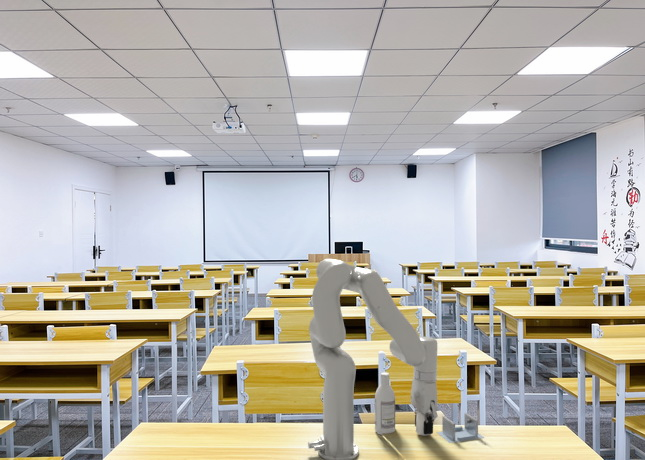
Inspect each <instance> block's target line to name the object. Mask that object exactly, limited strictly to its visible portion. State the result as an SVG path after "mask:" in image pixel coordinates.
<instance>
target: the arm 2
mask: <svg viewBox="0 0 645 460" xmlns="http://www.w3.org/2000/svg"><path fill="white" fill-rule="evenodd" d="M464 428H465V430H466V431H467V432H469V433H470V434H472V435H475V437H478V433H479V420H478V419H477V418H475V417H473V416H472V415H470V413H468V412H466V413H464Z"/></svg>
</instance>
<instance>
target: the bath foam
mask: <svg viewBox="0 0 645 460" xmlns="http://www.w3.org/2000/svg"><path fill="white" fill-rule="evenodd" d="M374 430H375V433H376V432H377V433H376V434H378V435H381V436H384V435H385V434H392V433H394V432H396V394H395V391H394V390H393V388H392V386H391V384H390V373H389V372H381V373H380V384H379V386H378V387H377V388H376V391H375V394H374Z"/></svg>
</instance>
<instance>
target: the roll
mask: <svg viewBox="0 0 645 460" xmlns="http://www.w3.org/2000/svg"><path fill="white" fill-rule="evenodd" d="M429 411H430V410H429ZM429 411H428V412H429ZM415 415H416V426H415V432H416V434H418V435H420V436H427V437H429V436H431V435H432V434H424V421H425V416H424V414H423V413H422V412H420V411H419V410H418V409H417V414H415ZM429 416H430V414H428V417H429Z"/></svg>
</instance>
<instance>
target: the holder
mask: <svg viewBox="0 0 645 460" xmlns="http://www.w3.org/2000/svg"><path fill="white" fill-rule="evenodd" d="M436 433H437V434H438V435H439V436H440V437H442V439H444V440H445V441H447V442H448V443H449V444H454V443H459V442H465V441H473V440H478V439H484V438H485V437H484V436H483V435H481V434H480V433H479V432H478V437H475V435H472V434H470V433H469V432H467V431H466V430H465V427H463V426H462V425H457V426H455V441H452V440H451V439H450V438H448V437H447V436H446V435H445V434H443V430H441V431H437V432H436Z"/></svg>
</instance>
